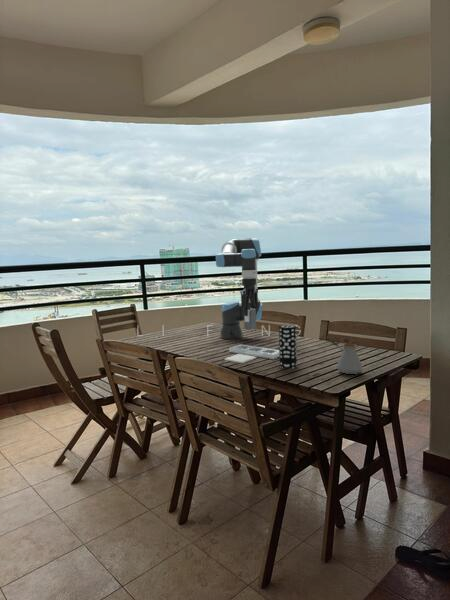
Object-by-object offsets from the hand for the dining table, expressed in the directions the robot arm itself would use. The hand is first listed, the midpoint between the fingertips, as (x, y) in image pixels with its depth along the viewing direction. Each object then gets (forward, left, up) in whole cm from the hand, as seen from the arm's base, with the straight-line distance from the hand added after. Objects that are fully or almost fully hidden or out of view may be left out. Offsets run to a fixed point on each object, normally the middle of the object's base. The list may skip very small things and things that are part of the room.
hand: (250, 320), depth 226 cm
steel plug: (0, 0, -4) cm, 4 cm away
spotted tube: (+7, +28, -19) cm, 35 cm away
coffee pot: (-1, +52, -20) cm, 55 cm away
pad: (+9, 0, -19) cm, 21 cm away
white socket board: (-5, 0, -19) cm, 20 cm away
